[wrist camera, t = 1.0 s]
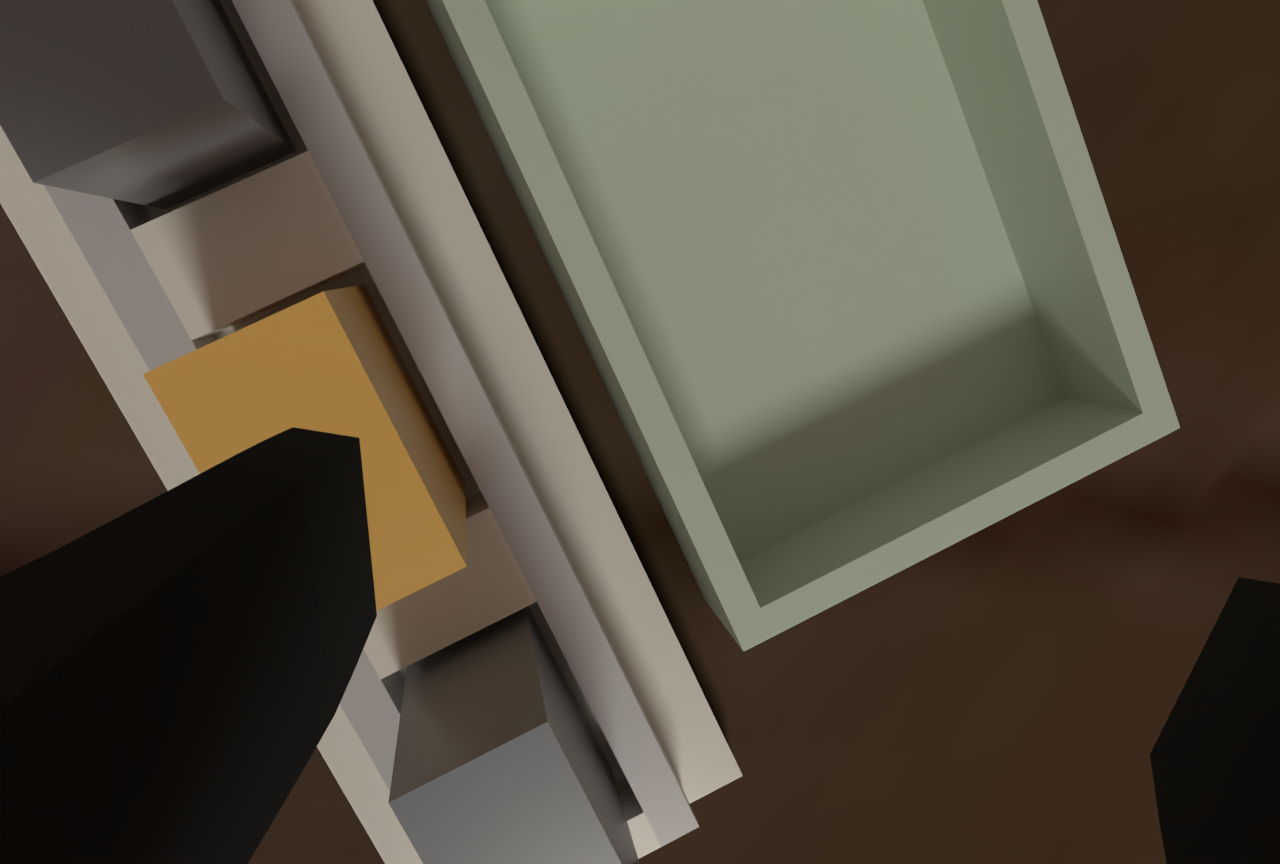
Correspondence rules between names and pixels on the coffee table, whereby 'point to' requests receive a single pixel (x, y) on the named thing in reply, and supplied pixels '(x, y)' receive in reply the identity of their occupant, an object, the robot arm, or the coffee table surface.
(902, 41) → the tray
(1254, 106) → the coffee table surface
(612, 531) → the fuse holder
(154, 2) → the block
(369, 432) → the block
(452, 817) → the block
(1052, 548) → the coffee table surface
